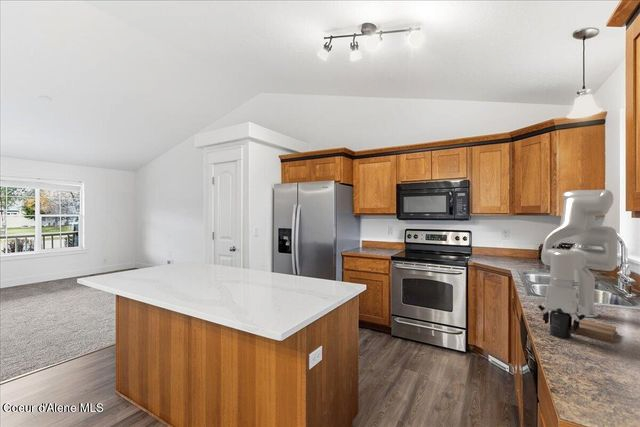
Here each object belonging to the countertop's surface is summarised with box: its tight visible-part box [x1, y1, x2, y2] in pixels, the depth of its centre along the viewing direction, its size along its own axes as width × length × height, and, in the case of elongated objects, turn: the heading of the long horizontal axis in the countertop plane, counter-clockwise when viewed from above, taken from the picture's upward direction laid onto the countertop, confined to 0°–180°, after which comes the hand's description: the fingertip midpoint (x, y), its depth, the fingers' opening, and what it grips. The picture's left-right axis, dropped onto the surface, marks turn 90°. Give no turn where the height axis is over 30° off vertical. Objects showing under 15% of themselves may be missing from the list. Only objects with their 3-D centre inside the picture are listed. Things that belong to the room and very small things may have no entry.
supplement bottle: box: [549, 308, 573, 340], centre depth 119 cm, size 7×7×12 cm
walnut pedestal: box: [571, 318, 618, 344], centre depth 121 cm, size 13×13×3 cm
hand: (560, 326), depth 119 cm, fingers open, 8 cm apart
